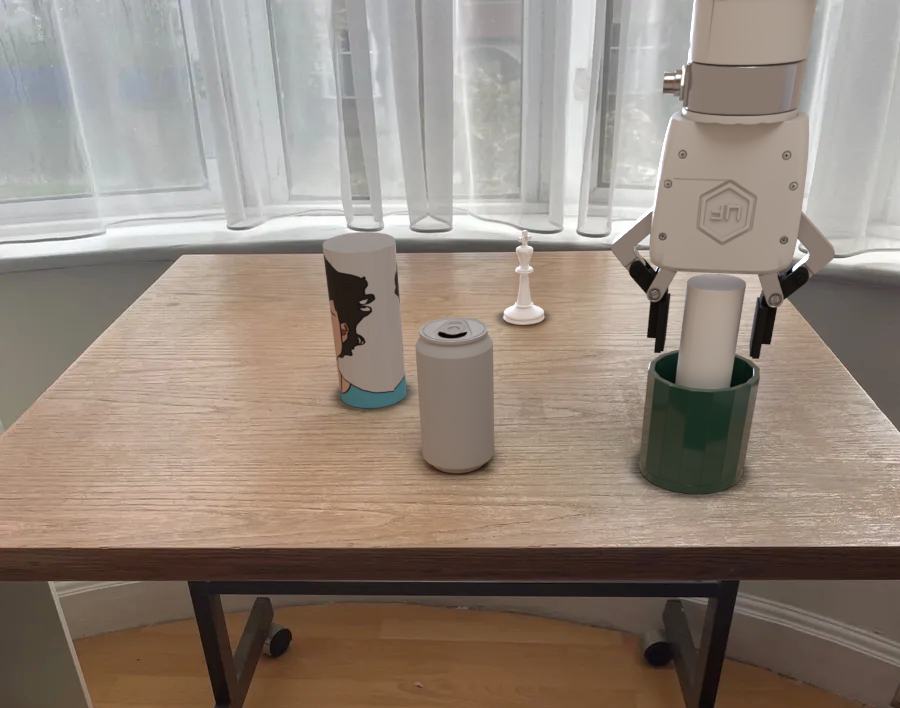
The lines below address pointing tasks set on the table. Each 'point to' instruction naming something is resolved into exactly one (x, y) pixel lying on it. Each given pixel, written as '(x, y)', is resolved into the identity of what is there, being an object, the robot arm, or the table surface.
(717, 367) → the tube
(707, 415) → the cup
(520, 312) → the chess piece
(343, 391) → the cup
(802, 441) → the table surface
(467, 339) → the beverage can
